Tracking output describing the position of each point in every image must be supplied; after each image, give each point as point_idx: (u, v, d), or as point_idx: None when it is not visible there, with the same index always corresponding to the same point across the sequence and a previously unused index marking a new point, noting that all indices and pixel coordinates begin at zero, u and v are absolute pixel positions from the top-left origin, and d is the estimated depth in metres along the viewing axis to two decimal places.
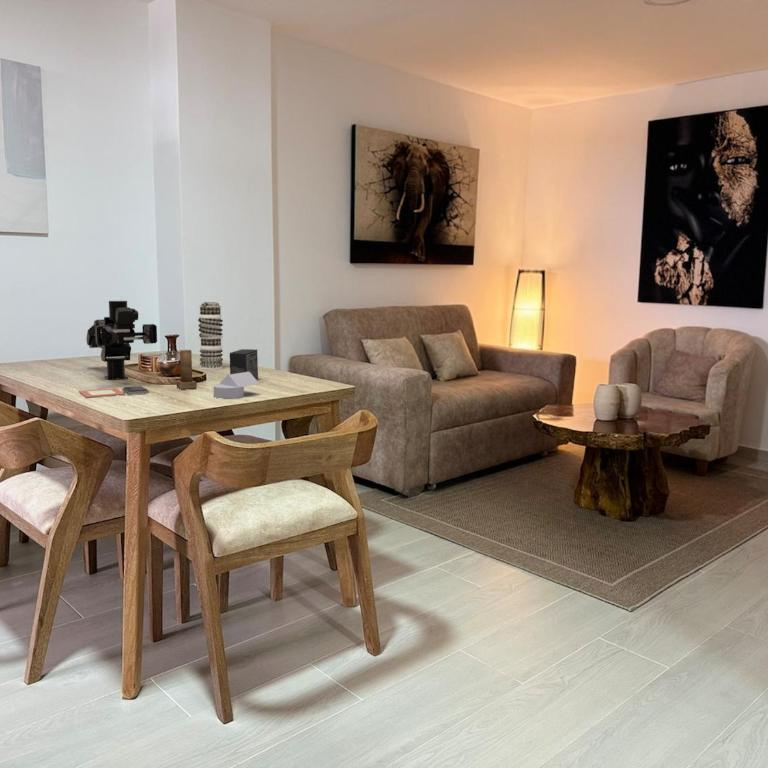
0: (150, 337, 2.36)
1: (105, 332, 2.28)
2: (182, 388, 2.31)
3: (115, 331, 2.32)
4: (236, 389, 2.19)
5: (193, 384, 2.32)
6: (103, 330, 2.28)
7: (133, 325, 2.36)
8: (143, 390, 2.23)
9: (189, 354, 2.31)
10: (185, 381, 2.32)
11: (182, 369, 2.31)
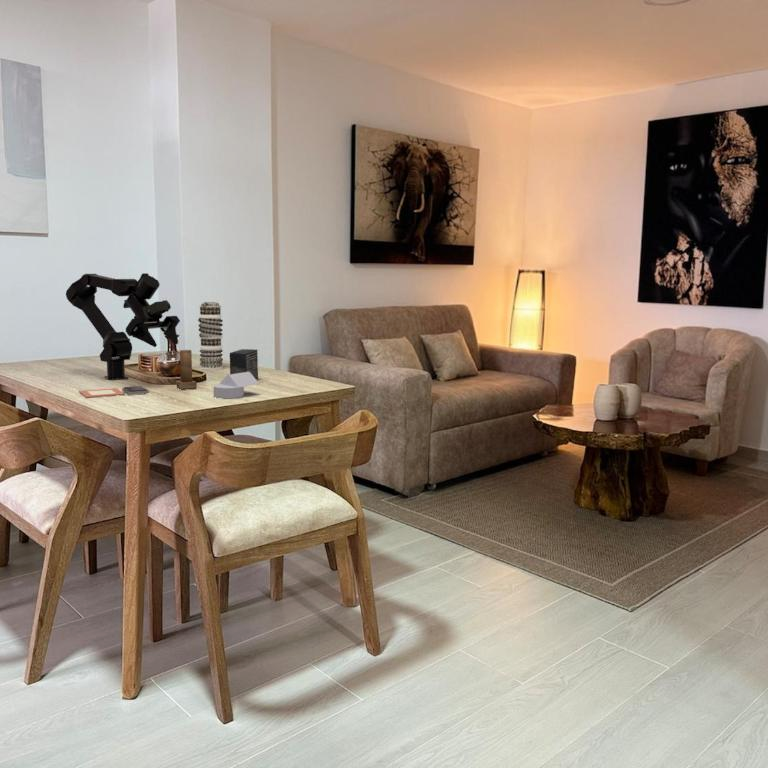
0: None
1: (141, 329, 2.31)
2: (182, 388, 2.31)
3: (146, 323, 2.34)
4: (236, 389, 2.19)
5: (193, 384, 2.32)
6: (140, 327, 2.30)
7: (161, 316, 2.39)
8: (143, 390, 2.23)
9: (189, 354, 2.31)
10: (185, 381, 2.32)
11: (182, 369, 2.31)
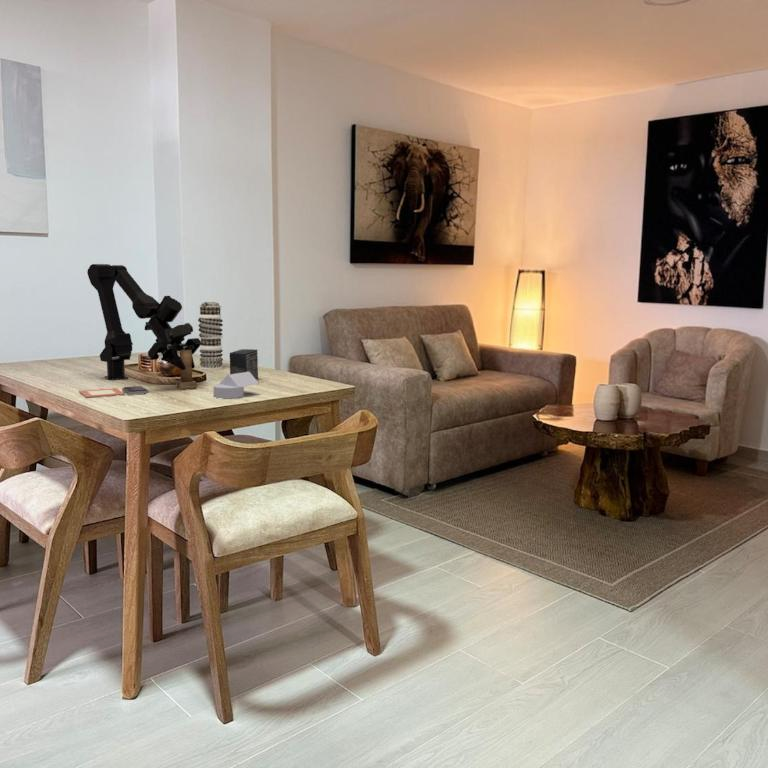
0: None
1: (170, 352, 2.29)
2: (182, 388, 2.31)
3: (174, 346, 2.33)
4: (236, 389, 2.19)
5: (193, 384, 2.32)
6: (169, 351, 2.29)
7: (183, 339, 2.35)
8: (143, 390, 2.23)
9: (189, 354, 2.31)
10: (185, 381, 2.32)
11: None
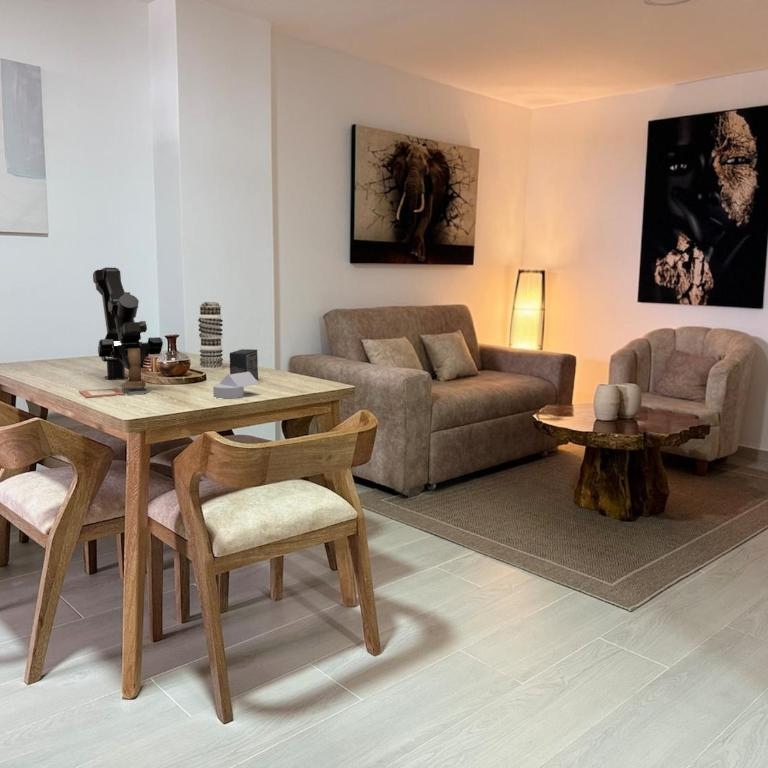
0: (145, 353, 2.29)
1: (117, 350, 2.23)
2: (126, 387, 2.23)
3: (128, 344, 2.26)
4: (236, 389, 2.19)
5: (137, 384, 2.23)
6: (116, 348, 2.22)
7: (139, 338, 2.27)
8: (143, 390, 2.23)
9: (134, 353, 2.22)
10: (130, 380, 2.23)
11: None
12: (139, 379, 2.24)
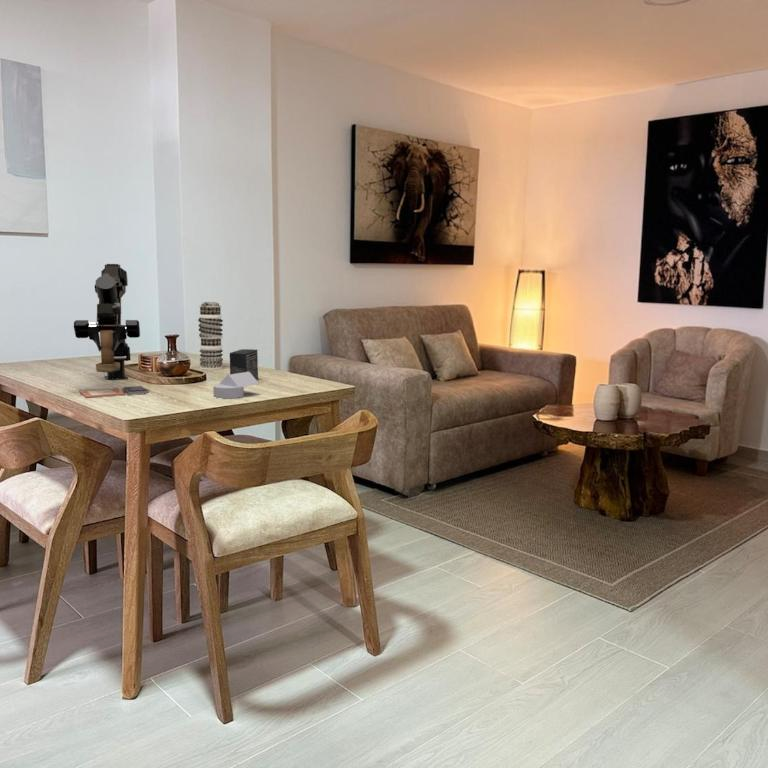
0: (122, 335, 2.25)
1: (91, 331, 2.21)
2: (97, 369, 2.20)
3: (104, 326, 2.23)
4: (236, 389, 2.19)
5: (107, 367, 2.19)
6: (89, 330, 2.20)
7: (115, 320, 2.23)
8: (143, 390, 2.23)
9: (105, 335, 2.18)
10: (102, 363, 2.20)
11: None
12: (110, 362, 2.20)
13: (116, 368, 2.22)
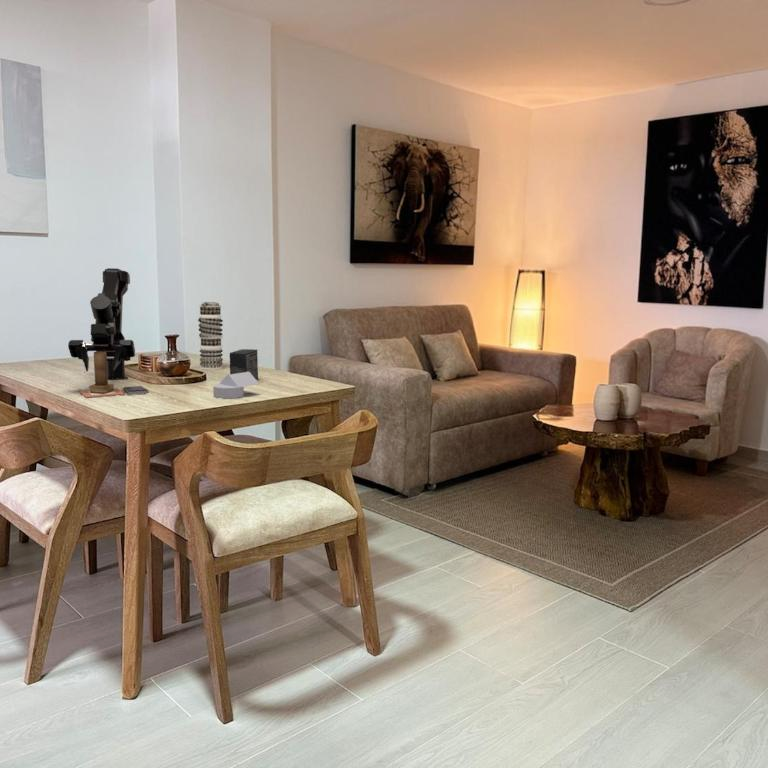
0: (122, 355, 2.26)
1: (80, 351, 2.21)
2: (90, 391, 2.21)
3: (92, 346, 2.23)
4: (236, 389, 2.19)
5: (100, 389, 2.20)
6: (77, 350, 2.21)
7: (109, 340, 2.23)
8: (143, 390, 2.23)
9: (98, 356, 2.19)
10: (95, 384, 2.21)
11: None
12: (104, 383, 2.21)
13: (109, 390, 2.22)
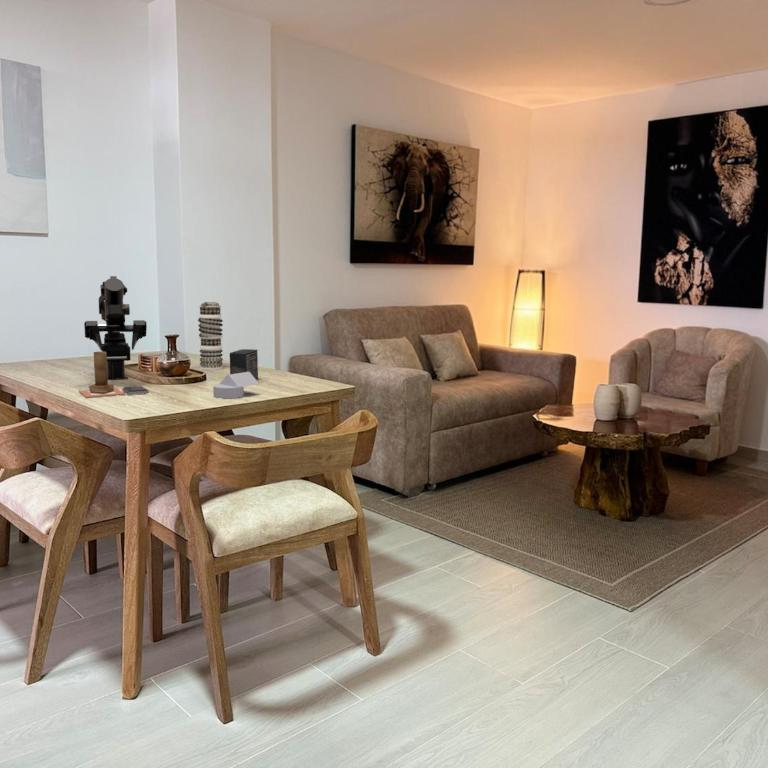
0: (138, 335, 2.37)
1: (92, 331, 2.30)
2: (90, 391, 2.21)
3: (104, 326, 2.33)
4: (236, 389, 2.19)
5: (100, 389, 2.20)
6: (90, 330, 2.30)
7: (123, 320, 2.34)
8: (143, 390, 2.23)
9: (98, 356, 2.19)
10: (95, 384, 2.21)
11: None
12: (104, 383, 2.21)
13: (109, 390, 2.22)
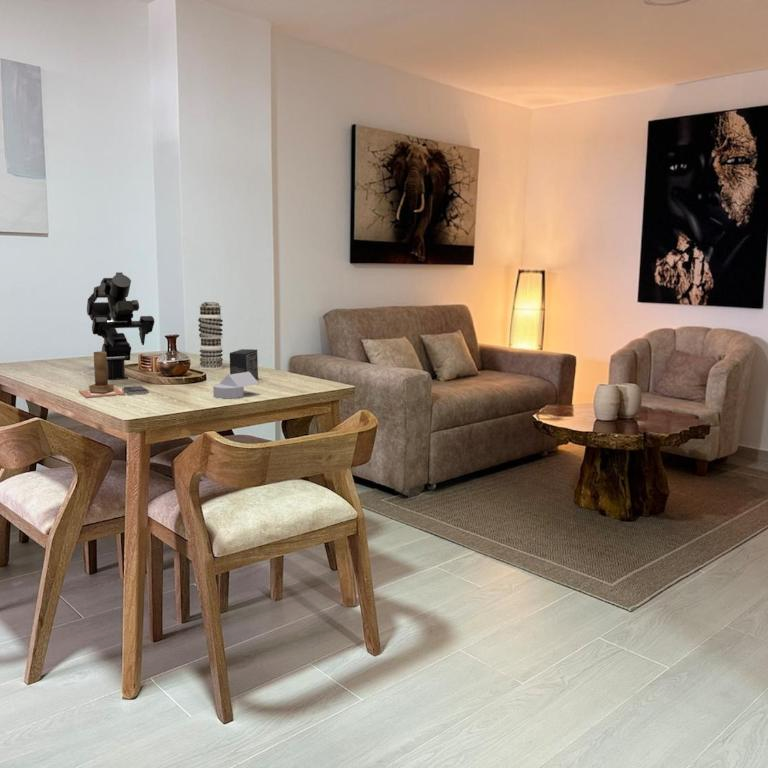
0: (146, 330, 2.40)
1: (102, 327, 2.31)
2: (90, 391, 2.21)
3: (112, 322, 2.34)
4: (236, 389, 2.19)
5: (100, 389, 2.20)
6: (100, 326, 2.30)
7: (131, 316, 2.36)
8: (143, 390, 2.23)
9: (98, 356, 2.19)
10: (95, 384, 2.21)
11: None
12: (104, 383, 2.21)
13: (109, 390, 2.22)
